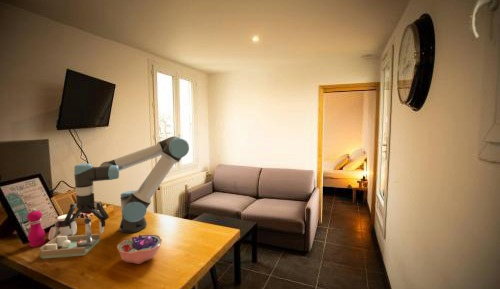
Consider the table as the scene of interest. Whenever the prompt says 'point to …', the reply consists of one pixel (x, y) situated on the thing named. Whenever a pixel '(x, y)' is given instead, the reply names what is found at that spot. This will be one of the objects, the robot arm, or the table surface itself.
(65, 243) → the ball
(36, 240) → the pepper mill
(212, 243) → the table surface
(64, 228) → the spread jar
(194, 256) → the table surface
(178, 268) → the table surface
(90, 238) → the kicker rod
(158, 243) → the cell model
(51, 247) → the beige tray
